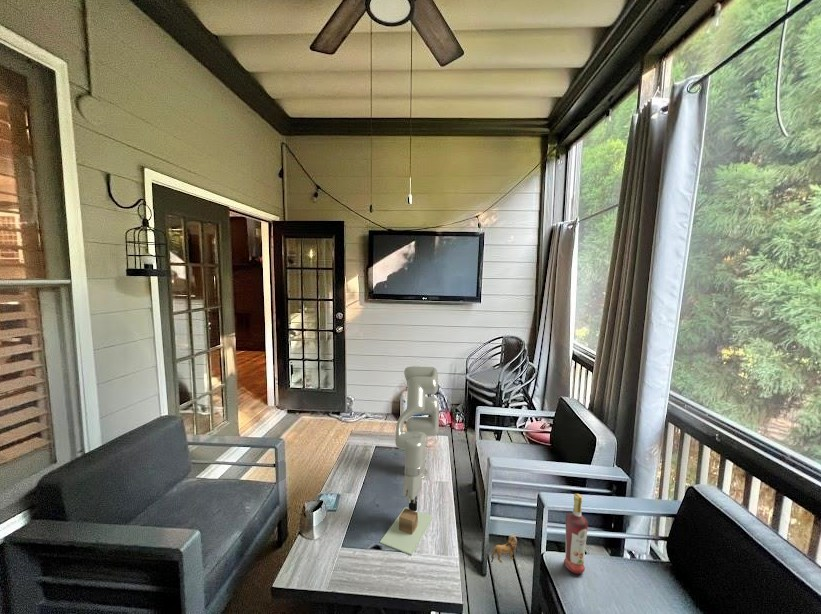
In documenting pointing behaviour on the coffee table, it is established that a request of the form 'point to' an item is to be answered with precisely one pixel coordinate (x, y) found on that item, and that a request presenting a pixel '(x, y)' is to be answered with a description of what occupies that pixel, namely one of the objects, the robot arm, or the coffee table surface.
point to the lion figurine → (505, 548)
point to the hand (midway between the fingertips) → (412, 510)
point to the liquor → (575, 537)
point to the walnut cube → (408, 521)
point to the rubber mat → (406, 534)
